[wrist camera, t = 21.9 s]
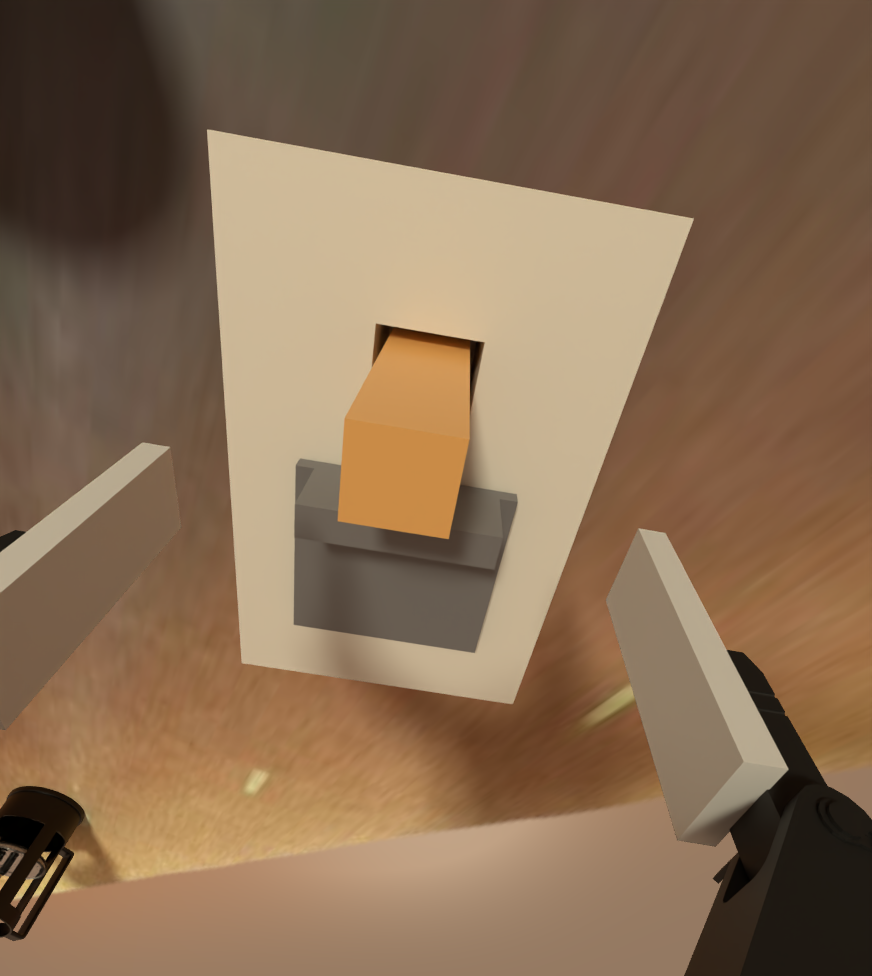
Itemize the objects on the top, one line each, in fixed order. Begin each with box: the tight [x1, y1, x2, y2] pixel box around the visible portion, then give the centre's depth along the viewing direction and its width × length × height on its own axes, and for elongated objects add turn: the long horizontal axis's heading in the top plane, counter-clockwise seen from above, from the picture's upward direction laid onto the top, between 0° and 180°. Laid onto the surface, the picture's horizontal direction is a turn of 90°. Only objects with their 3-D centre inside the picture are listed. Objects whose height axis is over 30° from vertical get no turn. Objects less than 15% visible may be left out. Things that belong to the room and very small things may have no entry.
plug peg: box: [338, 327, 470, 539], centre depth 24 cm, size 4×4×16 cm
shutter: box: [294, 458, 518, 653], centre depth 29 cm, size 12×12×4 cm
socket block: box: [207, 130, 694, 704], centre depth 32 cm, size 32×20×8 cm, turn 171°
